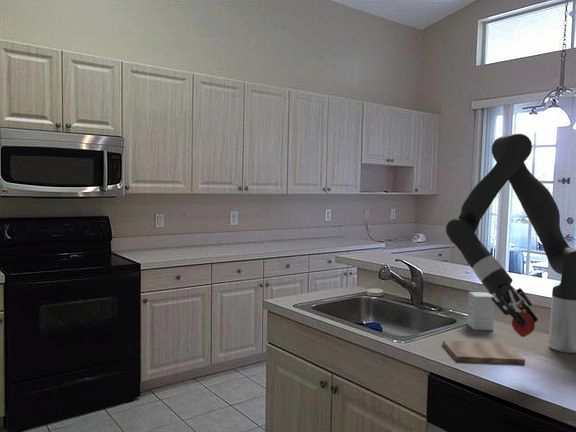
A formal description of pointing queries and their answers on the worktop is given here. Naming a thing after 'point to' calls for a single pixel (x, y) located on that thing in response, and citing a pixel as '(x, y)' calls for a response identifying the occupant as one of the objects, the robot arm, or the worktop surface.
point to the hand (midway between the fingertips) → (529, 323)
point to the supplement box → (480, 311)
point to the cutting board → (482, 352)
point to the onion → (528, 327)
